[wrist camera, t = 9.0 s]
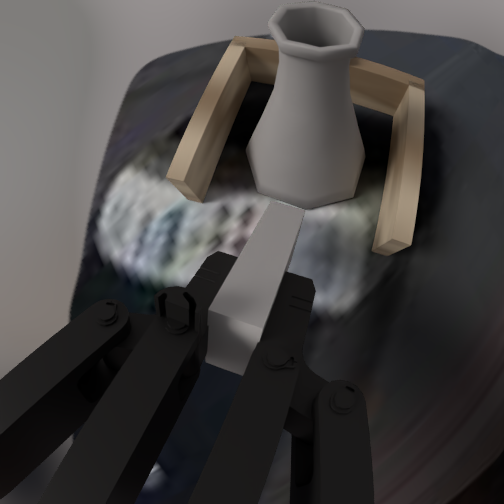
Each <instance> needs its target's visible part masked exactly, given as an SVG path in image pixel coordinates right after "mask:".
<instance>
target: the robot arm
mask: <svg viewBox="0 0 504 504" xmlns="http://www.w3.org/2000/svg"><path fill="white" fill-rule="evenodd" d="M304 213H305V210H301V209H298V208H295V207H291V206H288V205H284V204H281V203H277V202H274V201H271V202H270V204H269V206H268V207H267V209H266V211H265V212H264V214H263V216H262V218H261V219H260V221H259V223H258V224H257V226H256V228H255V230H254V231H253V233H252V235H251V236H250V238H249V240H248V242H247V243H246V245H245V247H244V248H243V250H242V252H241V254H240V255H239V257H235V256H232V255H229V254H226V253H223V252H220V251H217V252H216V253H214V254H212V255H210V256H209V257H207V258H206V260H205V261H204V263H203V264H202V265H201V267H200V269H199V270H198V271H197V272H196V274H195V276H194V277H193V278H192V280H191V281H190V282H189V284H188V285H187V287H186V288H184V287H179V286H176V287H168V288H165V289H163V290H160V291H159V292H158V293H157V294H156V295H155V296H154V299H155V307H156V314H155V315H145V314H136V313H128V309H127V308H126V306H125V305H124V304H123V303H122V302H120V301H118V300H113V299H106V300H101V301H99V302H97V303H95V304H93V305H92V306H91V307H89V308H88V309H87V310H86V311H84V312H83V313H82V314H80V315H79V316H78V317H76V318H75V319H74V320H73V321H71V322H70V323H69V324H67V325H66V326H65V327H64V328H62V329H61V330H60V331H59V332H58V333H56V334H55V335H54V336H52V337H51V338H50V339H49V340H47V341H46V342H45V343H44V344H42V345H41V346H40V347H39V348H37V349H36V350H35V351H34V352H33V353H31V354H30V355H29V356H28V357H27V358H25V359H24V360H23V361H22V362H21V363H19V364H18V365H17V366H16V367H15V368H14V369H12V370H11V371H10V372H9V373H8V374H7V375H5V376H4V377H3V378H2V379H1V380H0V499H2V498H3V497H4V496H6V495H7V494H8V493H9V492H11V491H12V490H13V489H14V488H15V487H16V486H17V485H18V484H19V483H20V482H21V481H23V480H24V479H25V477H27V476H28V475H29V474H30V473H31V472H32V471H33V470H34V469H35V468H36V467H38V466H39V465H40V464H41V463H42V462H43V461H44V460H45V459H46V458H47V457H48V456H49V455H50V454H52V453H53V452H54V451H55V450H56V449H57V448H58V447H59V446H60V445H61V444H62V443H63V442H64V441H65V440H67V438H69V437H70V436H71V435H72V434H73V433H74V432H75V431H76V430H77V429H78V428H79V427H80V426H81V425H82V424H84V423H85V422H86V423H85V424H84V426H83V428H82V429H81V431H80V432H79V434H78V436H77V437H76V439H75V441H74V442H73V444H72V445H71V447H70V449H69V450H68V452H67V454H66V455H65V457H64V459H63V461H62V462H61V464H60V466H59V467H58V469H57V471H56V472H55V474H54V476H53V477H52V479H51V481H50V483H49V485H48V486H47V488H46V490H45V492H44V493H43V495H42V497H41V499H40V501H39V502H38V504H134V503H135V501H136V499H137V497H138V495H139V493H140V491H141V490H142V488H143V486H144V484H145V482H146V480H147V478H148V476H149V474H150V472H151V470H152V468H153V466H154V464H155V462H156V460H157V458H158V456H159V454H160V452H161V450H162V448H163V446H164V444H165V443H166V441H167V439H168V437H169V435H170V433H171V431H172V429H173V427H174V425H175V423H176V421H177V419H178V417H179V415H180V413H181V411H182V409H183V407H184V405H185V403H186V401H187V399H188V397H189V395H190V393H191V391H192V389H193V387H194V385H195V383H196V381H197V379H198V377H199V373H200V366H201V364H202V362H203V360H204V358H205V356H206V362H207V363H210V364H212V365H215V366H218V367H220V368H223V369H226V370H229V371H231V372H234V373H237V374H240V375H243V377H242V380H241V382H240V385H239V387H238V390H237V392H236V394H235V397H234V399H233V402H232V404H231V406H230V409H229V411H228V414H227V416H226V418H225V421H224V423H223V425H222V428H221V430H220V432H219V435H218V437H217V439H216V442H215V444H214V446H213V449H212V451H211V453H210V455H209V458H208V460H207V462H206V464H205V467H204V469H203V471H202V473H201V476H200V478H199V480H198V482H197V484H196V487H195V489H194V491H193V493H192V495H191V497H190V500H189V502H188V504H258V501H259V498H260V496H261V493H262V490H263V487H264V484H265V482H266V479H267V476H268V473H269V470H270V467H271V464H272V461H273V458H274V455H275V452H276V449H277V446H278V443H279V439H280V436H281V433H282V430H283V429H285V430H286V431H288V432H289V433H291V434H292V443H291V482H290V504H374V487H373V471H372V458H371V446H370V436H369V427H368V418H367V410H366V402H365V399H364V396H363V393H362V392H361V391H360V389H359V388H358V387H357V386H356V385H354V384H352V383H351V382H348V381H344V380H336V381H331V382H330V383H329V382H328V381H326V380H324V379H323V378H321V377H320V376H318V375H316V374H315V373H314V372H313V371H311V370H310V369H309V367H308V366H307V365H306V363H305V361H304V359H303V354H302V349H303V344H304V340H305V335H306V331H307V327H308V323H309V319H310V313H311V310H312V305H313V301H314V296H315V292H316V291H315V287H314V284H313V281H312V279H309V278H306V277H302V276H299V275H296V274H293V273H289V272H287V271H288V268H289V265H290V262H291V259H292V256H293V252H294V249H295V245H296V242H297V238H298V235H299V231H300V227H301V224H302V220H303V217H304Z"/></svg>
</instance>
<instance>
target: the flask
mask: <svg viewBox="0 0 504 504" xmlns="http://www.w3.org/2000/svg"><path fill="white" fill-rule="evenodd" d="M268 28H269V30H270V32H271V34H272V36H273V38H274V40H275V41H276V43H277V45H278V47H279V65H278V70H277V75H276V80H275V85H274V90H273V92H272V94H271V96H270V99H269V101H268V103H267V105H266V108H265V110H264V112H263V114H262V116H261V118H260V121H259V123H258V125H257V127H256V129H255V131H254V133H253V135H252V137H251V139H250V141H249V143H248V146H247V148H246V154H247V157H248V161H249V164H250V167H251V171H252V174H253V178H254V181H255V185H256V188H257V191H258V193H260V194H263V195H266V196H269V197H272V198H275V199H277V200H280V201H283V202H286V203H289V204H291V205H294V206H297V207H299V208H302V209H305V210H307V209H311V208H315V207H318V206H322V205H326V204H330V203H334V202H337V201H341V200H345V199H349V198H353V197H354V193H355V190H356V187H357V184H358V181H359V177H360V174H361V170H362V167H363V164H364V160H365V157H366V156H365V151H364V146H363V143H362V139H361V135H360V132H359V128H358V124H357V120H356V115H355V111H354V107H353V103H352V99H351V95H350V75H349V63H350V59H352V58H355V57H356V55H357V54H358V50H359V47H360V44H361V41H362V38H363V35H364V27H363V26H362V25H361V24H360V23H359V21H358V20H357V19H356V18H355V17H354V16H353V14H352V13H351V12H350V11H349V10H348V9H345V8H341V7H337V6H333V5H329V4H325V3H320V2H316V1H309V2H300V3H292V4H284V5H280V6H279V8H278V9H277V10H276V12H275V13H274V14H273V16H272V17H271V19H270V20H269V21H268Z"/></svg>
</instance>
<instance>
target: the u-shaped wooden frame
mask: <svg viewBox="0 0 504 504" xmlns="http://www.w3.org/2000/svg"><path fill="white" fill-rule="evenodd" d="M278 65H279V47H278V45H277V43H276V41H275V40H268V39H260V38H250V37H239V36H235V37H234V38H233V40H232V42H231V43H230V45H229V47H228V49H227V50H226V52H225V54H224V56H223V58H222V59H221V61H220V63H219V65H218V67H217V69H216V70H215V72H214V74H213V76H212V78H211V80H210V82H209V84H208V86H207V88H206V90H205V92H204V94H203V96H202V98H201V100H200V102H199V104H198V106H197V108H196V110H195V112H194V114H193V116H192V118H191V120H190V123H189V125H188V127H187V129H186V131H185V134H184V136H183V138H182V140H181V143H180V145H179V147H178V149H177V152H176V154H175V156H174V159H173V161H172V163H171V166H170V168H169V171H168V173H167V176H166V178H167V179H168V180H169V181H170V182H171V183H172V184H173V185H174V186H175V187H176V188H177V189H178V190H179V191H180V192H181V193H182V194H183V195H184V196H185V197H186V198H187V199H188V200H192V201H196V202H200V203H203V201H204V198H205V196H206V193H207V190H208V187H209V185H210V182H211V179H212V177H213V174H214V171H215V169H216V166H217V163H218V161H219V158H220V156H221V153H222V150H223V148H224V145H225V143H226V140H227V138H228V135H229V133H230V130H231V128H232V125H233V123H234V121H235V118H236V116H237V113H238V111H239V109H240V106H241V104H242V101H243V99H244V97H245V94H246V92H247V90H248V88H249V85H250V83H251V81H254V82H260V83H267V84H272V85H275V80H276V75H277V70H278ZM349 75H350V95H351V99H352V103H354V104H357V105H361V106H364V107H367V108H370V109H374V110H377V111H380V112H383V113H386V114H389V115H391V116H393V126H392V136H391V144H390V152H389V159H388V166H387V173H386V179H385V186H384V191H383V197H382V203H381V208H380V213H379V218H378V223H377V228H376V233H375V238H374V242H373V246H372V251H373V252H376V253H379V254H382V255H385V256H389V255H391V254H393V253H395V252H398V251H400V250H402V249H404V248H406V247H408V246H410V245H411V243H412V238H413V232H414V226H415V220H416V213H417V206H418V198H419V190H420V181H421V171H422V158H423V143H424V112H425V97H424V80H422V79H420V78H417V77H415V76H412V75H409V74H407V73H404V72H401V71H399V70H396V69H393V68H390V67H387V66H384V65H381V64H378V63H375V62H371V61H368V60H365V59H361V58H358V57H355V58H352V59H350V63H349Z"/></svg>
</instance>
